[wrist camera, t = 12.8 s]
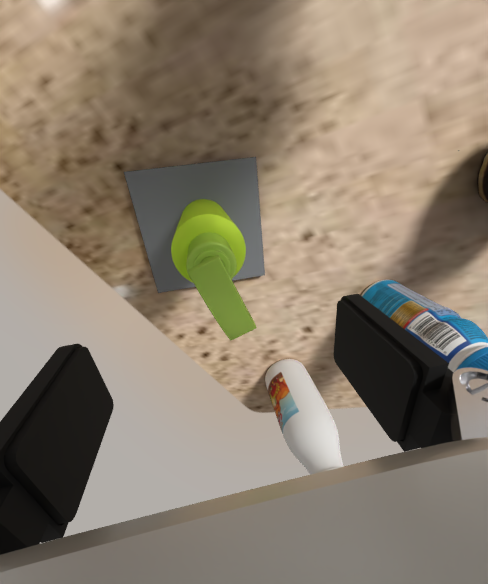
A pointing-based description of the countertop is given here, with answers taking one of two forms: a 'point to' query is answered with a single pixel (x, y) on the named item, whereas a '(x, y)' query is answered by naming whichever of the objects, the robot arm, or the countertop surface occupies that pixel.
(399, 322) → the beverage bottle
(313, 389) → the milk bottle
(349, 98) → the countertop surface
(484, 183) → the ceramic jug
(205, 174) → the charcoal mat
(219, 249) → the soap dispenser
